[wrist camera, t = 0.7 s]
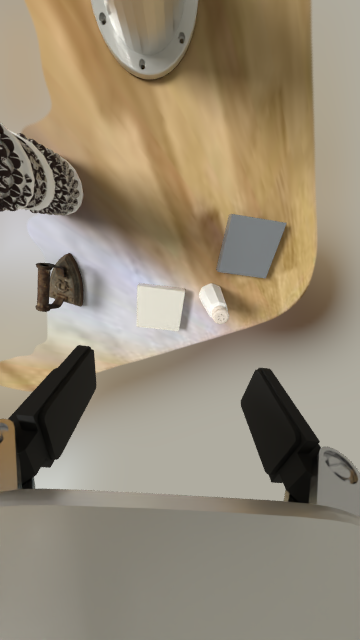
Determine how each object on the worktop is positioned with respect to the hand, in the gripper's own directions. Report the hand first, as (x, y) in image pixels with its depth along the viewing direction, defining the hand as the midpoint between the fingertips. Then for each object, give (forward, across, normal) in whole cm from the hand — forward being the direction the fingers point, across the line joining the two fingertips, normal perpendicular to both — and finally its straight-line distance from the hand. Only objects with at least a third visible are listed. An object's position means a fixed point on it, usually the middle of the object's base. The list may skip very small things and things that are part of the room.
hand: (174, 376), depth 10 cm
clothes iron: (+30, +23, +5) cm, 38 cm away
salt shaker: (+30, -8, +4) cm, 32 cm away
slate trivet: (+30, -13, -7) cm, 33 cm away
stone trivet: (+30, +3, +8) cm, 31 cm away
